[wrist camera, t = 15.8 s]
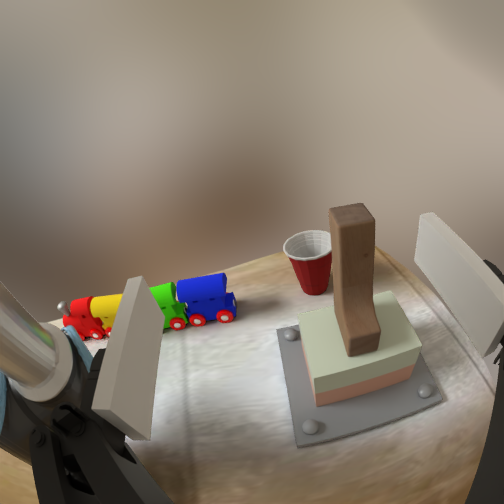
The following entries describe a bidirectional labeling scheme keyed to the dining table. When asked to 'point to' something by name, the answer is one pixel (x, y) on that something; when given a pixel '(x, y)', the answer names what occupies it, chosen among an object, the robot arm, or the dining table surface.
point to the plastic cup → (310, 259)
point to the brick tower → (353, 375)
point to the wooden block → (354, 277)
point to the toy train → (176, 312)
